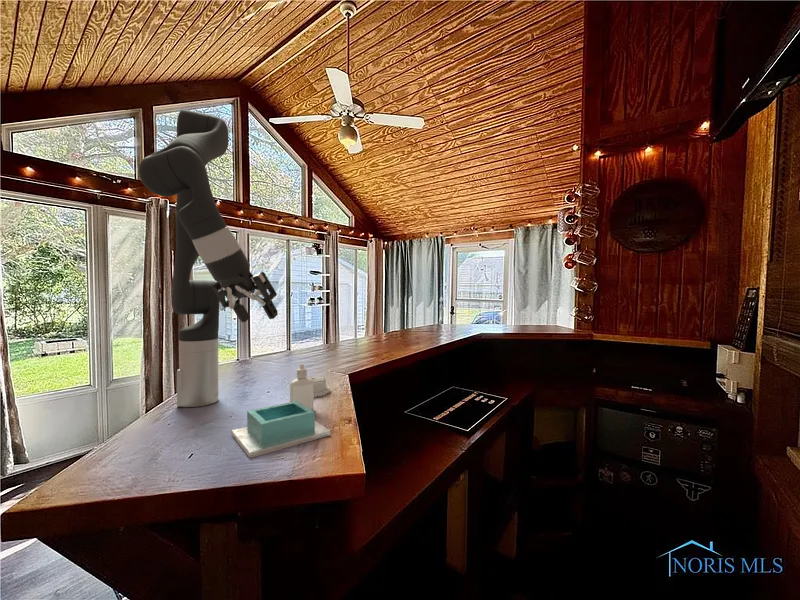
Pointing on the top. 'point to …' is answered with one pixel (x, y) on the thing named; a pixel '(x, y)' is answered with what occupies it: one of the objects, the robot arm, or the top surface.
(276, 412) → the tray
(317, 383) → the mechanical component
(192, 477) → the top surface
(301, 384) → the eye dropper bottle
